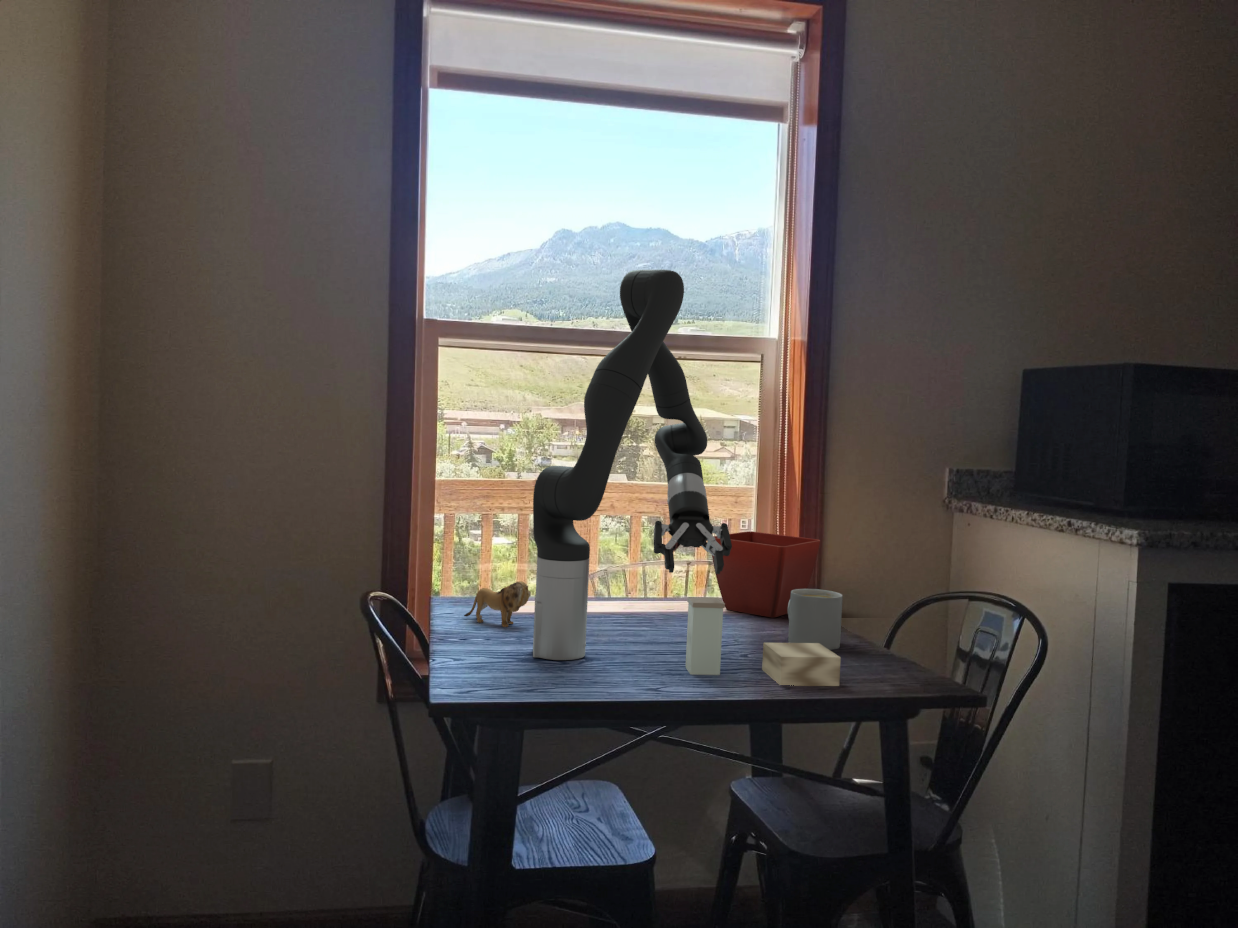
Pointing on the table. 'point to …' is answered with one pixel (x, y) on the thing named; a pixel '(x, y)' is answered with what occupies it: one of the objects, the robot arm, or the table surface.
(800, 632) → the coffee mug
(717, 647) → the sage canister
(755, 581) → the plant pot
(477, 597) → the lion figurine
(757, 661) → the table surface
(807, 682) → the maple block
